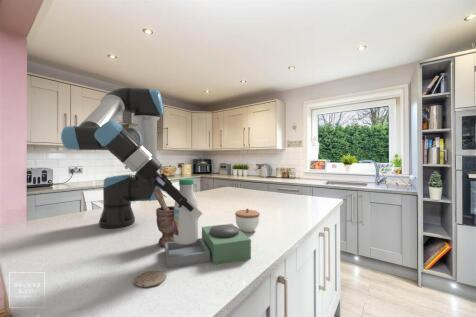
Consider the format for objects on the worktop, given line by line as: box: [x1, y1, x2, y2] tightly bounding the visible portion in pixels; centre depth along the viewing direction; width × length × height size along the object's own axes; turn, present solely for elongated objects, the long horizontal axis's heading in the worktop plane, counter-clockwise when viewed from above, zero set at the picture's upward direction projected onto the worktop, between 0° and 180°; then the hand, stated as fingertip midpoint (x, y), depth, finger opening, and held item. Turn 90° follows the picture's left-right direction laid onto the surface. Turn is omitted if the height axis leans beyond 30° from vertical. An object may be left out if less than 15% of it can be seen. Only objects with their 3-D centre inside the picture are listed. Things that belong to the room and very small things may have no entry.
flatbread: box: [133, 270, 167, 288], centre depth 59 cm, size 8×8×1 cm
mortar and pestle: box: [154, 189, 174, 248], centre depth 84 cm, size 12×9×20 cm
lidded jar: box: [234, 208, 260, 233], centre depth 99 cm, size 11×11×9 cm
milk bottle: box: [174, 178, 199, 245], centre depth 72 cm, size 8×8×20 cm
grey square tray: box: [164, 237, 211, 269], centre depth 73 cm, size 13×13×3 cm
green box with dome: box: [201, 223, 252, 266], centre depth 77 cm, size 18×12×7 cm, turn 21°
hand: (196, 213), depth 74 cm, fingers closed on milk bottle, 7 cm apart
